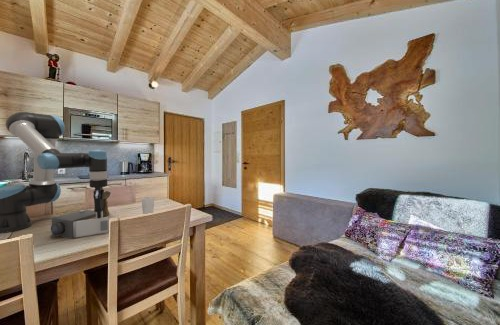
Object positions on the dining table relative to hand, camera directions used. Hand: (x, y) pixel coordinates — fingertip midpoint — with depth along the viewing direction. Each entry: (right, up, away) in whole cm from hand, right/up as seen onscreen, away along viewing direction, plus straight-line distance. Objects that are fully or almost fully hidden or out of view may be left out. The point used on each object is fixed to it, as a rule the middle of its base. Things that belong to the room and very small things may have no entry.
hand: (99, 223), depth 109 cm
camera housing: (-14, -5, +2) cm, 15 cm away
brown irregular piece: (-18, -4, +27) cm, 32 cm away
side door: (-2, -5, -3) cm, 6 cm away
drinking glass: (+16, -5, +20) cm, 26 cm away
